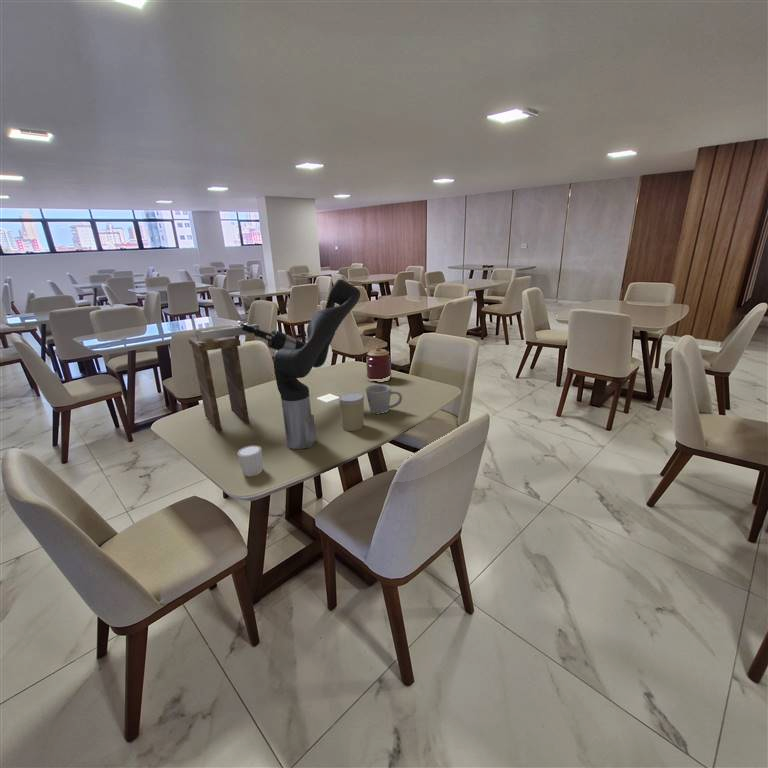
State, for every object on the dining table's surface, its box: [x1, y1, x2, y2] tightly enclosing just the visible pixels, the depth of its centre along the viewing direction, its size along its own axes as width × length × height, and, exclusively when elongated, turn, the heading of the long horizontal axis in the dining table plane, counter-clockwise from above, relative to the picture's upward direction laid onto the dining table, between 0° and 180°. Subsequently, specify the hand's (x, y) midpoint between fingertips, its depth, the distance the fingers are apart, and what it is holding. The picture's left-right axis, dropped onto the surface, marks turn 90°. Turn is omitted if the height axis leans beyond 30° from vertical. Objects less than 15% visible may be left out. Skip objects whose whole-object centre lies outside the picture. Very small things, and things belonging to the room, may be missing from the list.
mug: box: [365, 383, 403, 414], centre depth 154 cm, size 10×15×10 cm
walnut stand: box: [188, 336, 250, 432], centre depth 148 cm, size 14×20×34 cm
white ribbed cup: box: [237, 445, 263, 477], centre depth 113 cm, size 7×7×7 cm
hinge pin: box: [194, 323, 260, 341], centre depth 141 cm, size 22×4×4 cm, turn 127°
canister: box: [365, 346, 392, 379], centre depth 196 cm, size 13×13×18 cm
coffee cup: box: [337, 392, 365, 432], centre depth 140 cm, size 9×9×12 cm
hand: (241, 326), depth 143 cm, fingers closed on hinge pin, 3 cm apart
